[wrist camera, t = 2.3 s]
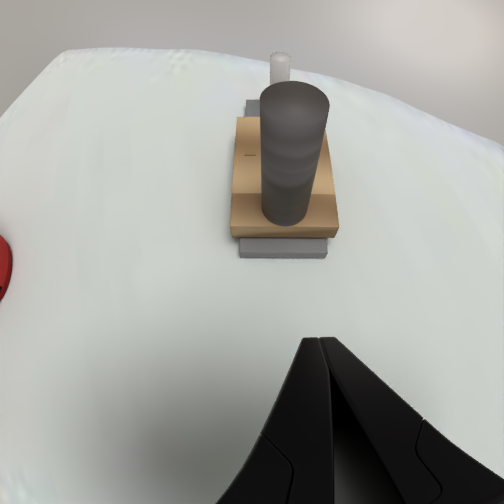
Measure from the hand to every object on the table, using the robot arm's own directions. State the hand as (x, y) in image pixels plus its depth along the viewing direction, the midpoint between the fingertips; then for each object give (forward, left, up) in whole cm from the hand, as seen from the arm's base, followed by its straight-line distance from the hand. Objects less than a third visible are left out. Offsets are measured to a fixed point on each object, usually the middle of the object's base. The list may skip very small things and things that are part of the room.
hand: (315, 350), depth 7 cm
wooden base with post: (+10, +9, -12) cm, 18 cm away
